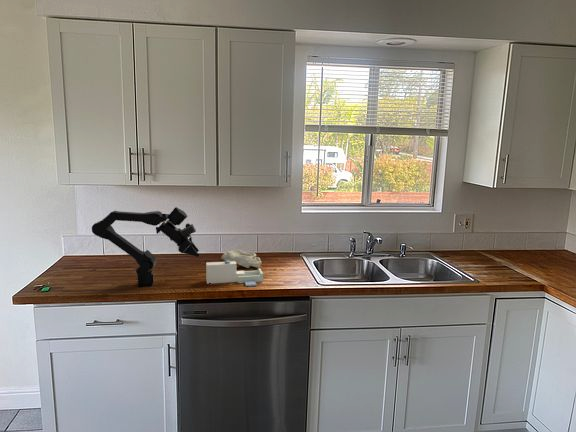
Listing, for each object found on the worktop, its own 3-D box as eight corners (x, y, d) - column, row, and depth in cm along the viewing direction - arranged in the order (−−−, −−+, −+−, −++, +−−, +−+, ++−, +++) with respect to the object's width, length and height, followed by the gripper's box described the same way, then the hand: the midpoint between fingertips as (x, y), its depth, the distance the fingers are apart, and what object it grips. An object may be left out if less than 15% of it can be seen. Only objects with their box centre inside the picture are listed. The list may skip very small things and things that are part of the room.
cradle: (239, 287, 195) (239, 278, 194) (234, 274, 213) (234, 266, 213) (265, 285, 197) (265, 277, 197) (258, 272, 216) (258, 265, 215)
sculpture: (223, 268, 238) (215, 268, 223) (224, 250, 239) (215, 248, 225) (266, 268, 234) (260, 267, 220) (266, 249, 236) (260, 247, 221)
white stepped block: (206, 283, 198) (206, 263, 197) (206, 280, 203) (206, 261, 201) (244, 281, 203) (244, 261, 201) (243, 278, 207) (243, 259, 205)
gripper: (184, 223, 184) (211, 245, 189) (184, 215, 202) (209, 236, 207) (167, 241, 184) (194, 264, 188) (168, 233, 202) (193, 253, 206)
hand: (198, 253), depth 197 cm, fingers open, 8 cm apart
